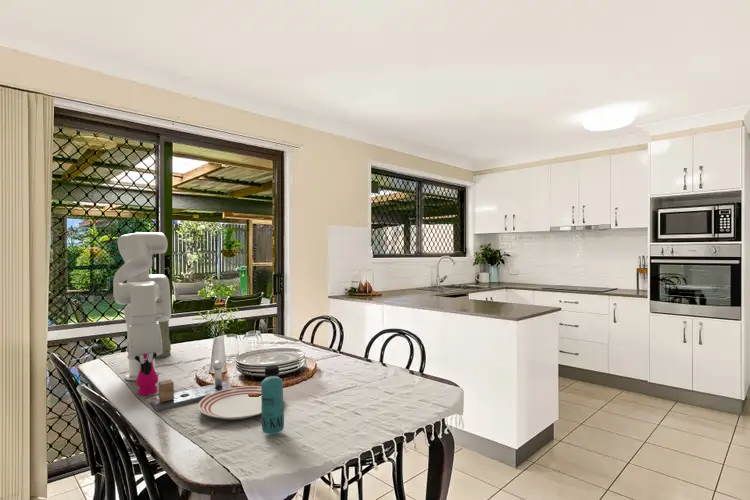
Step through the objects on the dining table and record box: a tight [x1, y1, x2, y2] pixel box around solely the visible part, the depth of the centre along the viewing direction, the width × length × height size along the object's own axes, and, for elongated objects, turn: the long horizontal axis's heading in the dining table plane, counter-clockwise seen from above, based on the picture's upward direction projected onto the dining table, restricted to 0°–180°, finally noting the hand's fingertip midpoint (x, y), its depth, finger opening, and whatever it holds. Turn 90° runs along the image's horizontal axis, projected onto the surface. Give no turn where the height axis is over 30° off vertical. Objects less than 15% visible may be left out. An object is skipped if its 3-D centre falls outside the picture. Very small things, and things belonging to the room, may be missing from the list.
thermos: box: [154, 295, 172, 359], centre depth 211 cm, size 9×12×35 cm
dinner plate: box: [197, 385, 262, 421], centre depth 145 cm, size 27×27×3 cm
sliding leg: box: [157, 379, 175, 402], centre depth 150 cm, size 4×4×6 cm
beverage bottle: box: [260, 365, 285, 435], centre depth 125 cm, size 6×7×20 cm
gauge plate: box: [150, 360, 234, 412], centre depth 155 cm, size 10×26×12 cm, turn 128°
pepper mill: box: [136, 354, 159, 396], centre depth 161 cm, size 7×7×20 cm
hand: (146, 373), depth 146 cm, fingers closed
